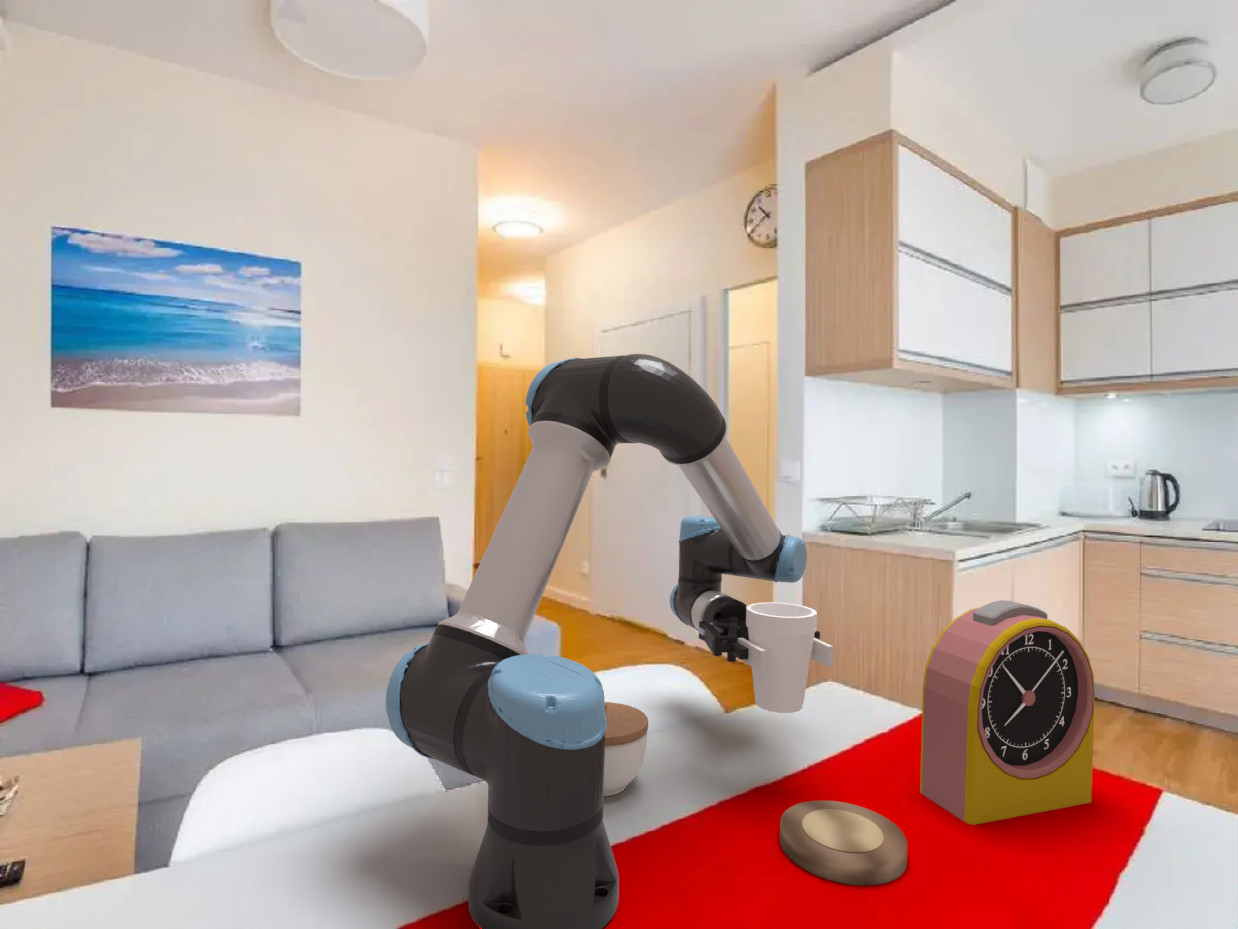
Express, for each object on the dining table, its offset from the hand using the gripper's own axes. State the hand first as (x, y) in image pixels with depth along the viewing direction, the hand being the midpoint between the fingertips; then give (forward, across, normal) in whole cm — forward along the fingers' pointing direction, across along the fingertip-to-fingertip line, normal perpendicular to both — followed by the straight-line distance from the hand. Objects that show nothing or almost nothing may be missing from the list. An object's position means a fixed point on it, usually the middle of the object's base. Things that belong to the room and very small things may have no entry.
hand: (797, 659), depth 90 cm
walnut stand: (+11, 0, -19) cm, 22 cm away
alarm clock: (+6, -29, -19) cm, 35 cm away
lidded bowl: (-11, +23, -19) cm, 32 cm away
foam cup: (-4, 0, -8) cm, 9 cm away
